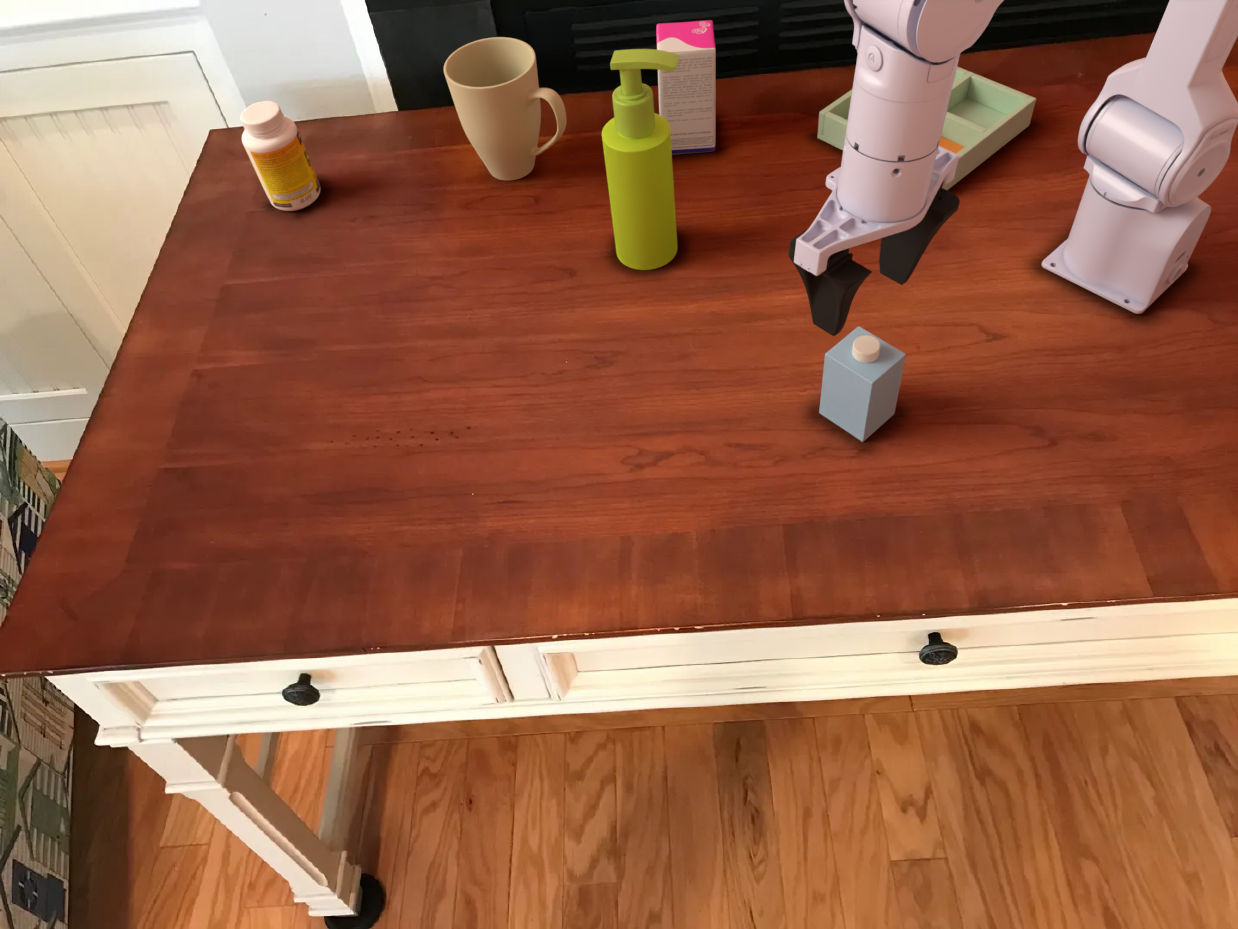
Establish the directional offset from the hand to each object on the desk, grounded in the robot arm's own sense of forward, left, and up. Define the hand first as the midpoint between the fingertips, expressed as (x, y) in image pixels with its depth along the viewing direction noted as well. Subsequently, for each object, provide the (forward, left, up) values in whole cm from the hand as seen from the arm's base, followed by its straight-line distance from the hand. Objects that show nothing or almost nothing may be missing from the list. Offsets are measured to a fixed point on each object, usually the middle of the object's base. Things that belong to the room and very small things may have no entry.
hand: (860, 301), depth 72 cm
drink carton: (-1, +1, -11) cm, 11 cm away
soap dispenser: (+26, -2, -11) cm, 28 cm away
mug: (+46, -3, -11) cm, 47 cm away
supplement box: (+36, -18, -11) cm, 41 cm away
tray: (+18, -33, -11) cm, 39 cm away
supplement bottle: (+61, +17, -11) cm, 64 cm away
